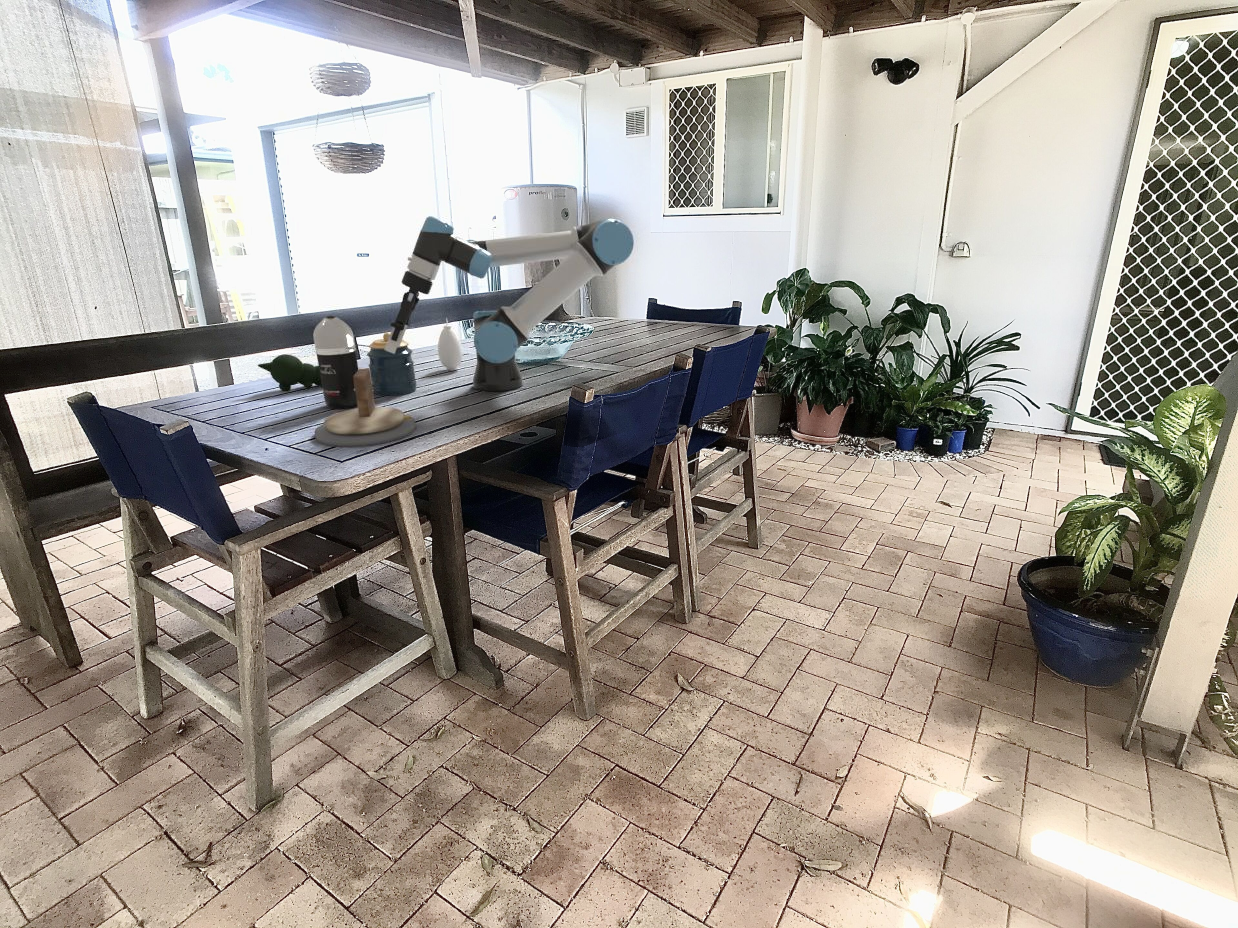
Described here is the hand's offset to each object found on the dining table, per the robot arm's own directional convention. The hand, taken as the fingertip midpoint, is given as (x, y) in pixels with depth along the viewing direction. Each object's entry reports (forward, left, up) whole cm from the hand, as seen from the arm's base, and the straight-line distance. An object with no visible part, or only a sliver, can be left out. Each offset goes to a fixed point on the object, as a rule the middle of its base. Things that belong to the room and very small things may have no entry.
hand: (391, 348), depth 177 cm
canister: (+3, -16, -16) cm, 23 cm away
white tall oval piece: (-13, -43, -16) cm, 48 cm away
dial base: (+5, +26, -16) cm, 31 cm away
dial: (+5, +26, -13) cm, 30 cm away
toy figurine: (+30, -27, -16) cm, 43 cm away
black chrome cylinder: (+15, -2, -16) cm, 22 cm away
